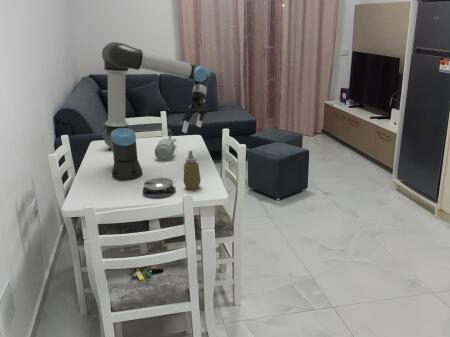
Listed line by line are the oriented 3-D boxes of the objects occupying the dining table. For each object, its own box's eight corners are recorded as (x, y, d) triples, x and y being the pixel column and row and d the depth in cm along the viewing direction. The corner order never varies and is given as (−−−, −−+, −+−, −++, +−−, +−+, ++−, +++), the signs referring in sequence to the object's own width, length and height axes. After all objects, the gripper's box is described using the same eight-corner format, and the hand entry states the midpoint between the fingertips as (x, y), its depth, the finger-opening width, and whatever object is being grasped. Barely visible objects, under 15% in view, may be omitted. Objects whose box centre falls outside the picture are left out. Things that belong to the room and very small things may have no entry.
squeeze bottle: (189, 192, 197) (187, 154, 191) (180, 187, 203) (178, 150, 197) (204, 188, 201) (202, 151, 195) (195, 183, 207) (193, 147, 201)
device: (172, 161, 240) (171, 144, 237) (154, 161, 240) (153, 144, 237) (179, 146, 269) (178, 130, 266) (163, 146, 269) (162, 131, 266)
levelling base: (140, 199, 191) (139, 189, 189) (145, 186, 205) (144, 177, 203) (174, 197, 191) (173, 188, 190) (177, 185, 205) (176, 176, 204)
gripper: (218, 90, 229) (210, 126, 222) (191, 103, 248) (184, 137, 241) (206, 84, 225) (198, 120, 218) (181, 98, 244) (173, 132, 237)
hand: (191, 129), depth 229 cm, fingers open, 13 cm apart
